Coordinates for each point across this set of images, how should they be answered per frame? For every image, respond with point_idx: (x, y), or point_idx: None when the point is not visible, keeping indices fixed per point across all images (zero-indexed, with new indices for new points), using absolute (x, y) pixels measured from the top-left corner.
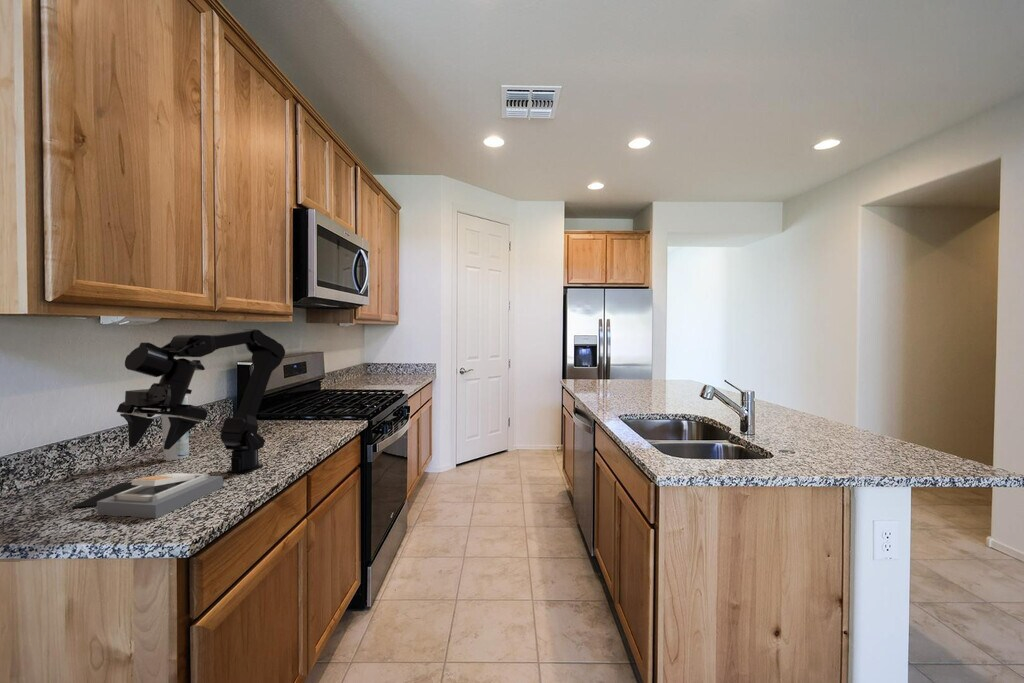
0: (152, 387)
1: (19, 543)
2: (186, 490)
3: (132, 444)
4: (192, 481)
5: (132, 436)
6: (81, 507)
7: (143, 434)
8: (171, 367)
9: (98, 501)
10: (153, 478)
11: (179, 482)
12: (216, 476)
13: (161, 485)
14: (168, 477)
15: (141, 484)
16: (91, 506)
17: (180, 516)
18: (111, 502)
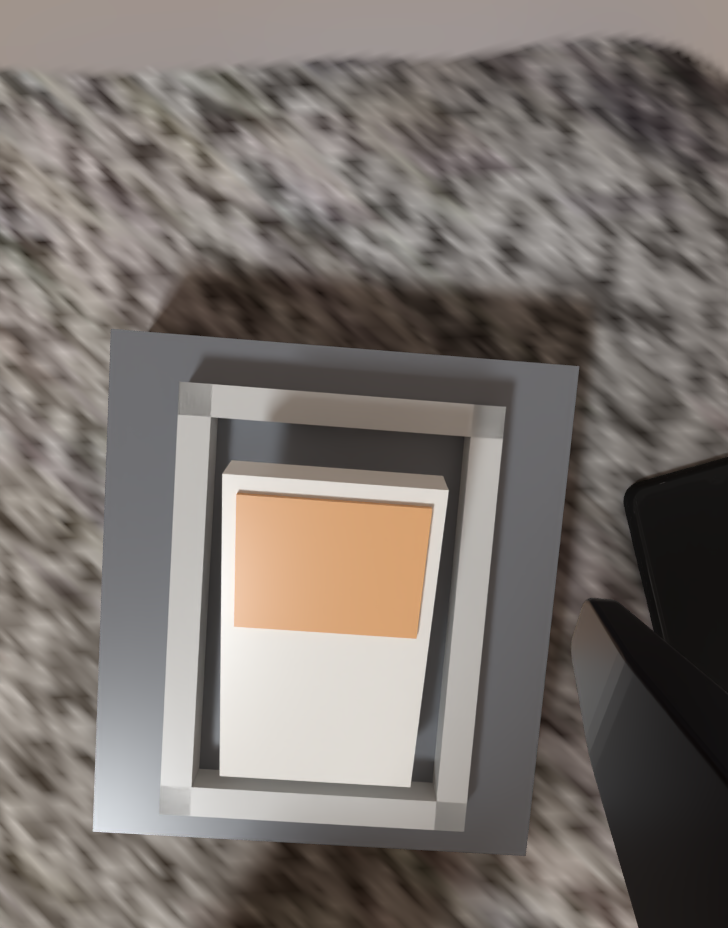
0: None
1: (619, 39)
2: (127, 572)
3: (587, 634)
4: (166, 678)
5: (661, 711)
6: None
7: (635, 910)
8: None
9: (570, 370)
10: (303, 533)
11: None
12: (138, 826)
13: None
14: (236, 594)
15: (351, 471)
16: (697, 469)
17: (25, 375)
18: (462, 357)
